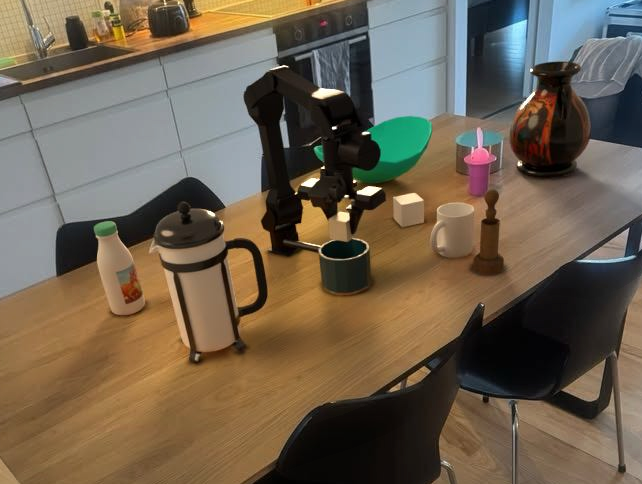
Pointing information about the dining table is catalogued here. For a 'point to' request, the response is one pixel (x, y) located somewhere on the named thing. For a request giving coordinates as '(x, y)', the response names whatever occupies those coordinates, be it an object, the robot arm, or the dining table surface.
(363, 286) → the saucepan
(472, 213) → the mug
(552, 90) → the amphora vase
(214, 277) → the coffee press
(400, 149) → the table top decor
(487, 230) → the mortar and pestle
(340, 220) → the block
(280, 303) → the dining table surface
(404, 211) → the white cube
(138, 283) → the milk bottle
